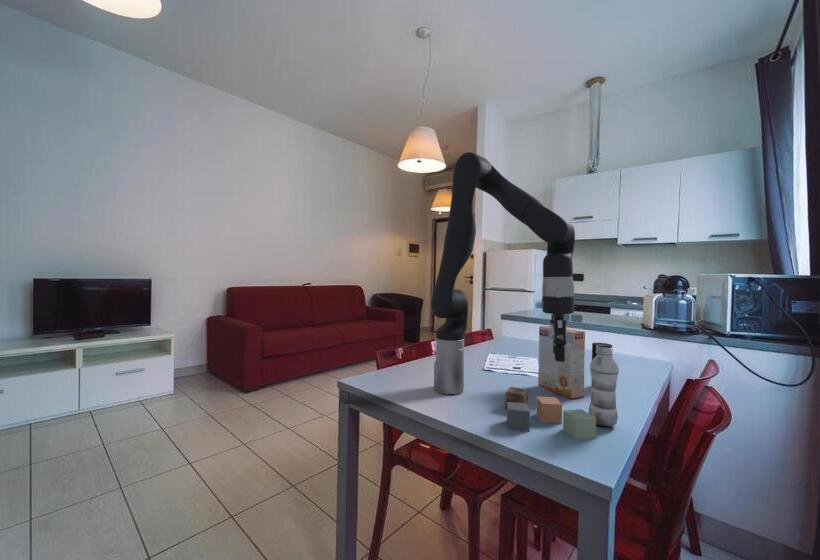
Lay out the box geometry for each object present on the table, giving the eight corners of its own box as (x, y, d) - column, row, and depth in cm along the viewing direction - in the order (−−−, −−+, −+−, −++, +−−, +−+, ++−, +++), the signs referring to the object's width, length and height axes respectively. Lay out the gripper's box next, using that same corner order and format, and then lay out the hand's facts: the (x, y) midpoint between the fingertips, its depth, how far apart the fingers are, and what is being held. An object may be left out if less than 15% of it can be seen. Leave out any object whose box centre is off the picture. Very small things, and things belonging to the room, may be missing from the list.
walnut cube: (505, 409, 93) (505, 391, 93) (510, 403, 98) (510, 386, 98) (523, 413, 91) (523, 395, 91) (527, 407, 95) (527, 389, 95)
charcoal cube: (508, 429, 81) (508, 409, 81) (506, 420, 86) (506, 401, 86) (529, 431, 80) (529, 411, 80) (526, 422, 85) (527, 403, 85)
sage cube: (576, 440, 76) (576, 418, 76) (563, 430, 81) (563, 410, 81) (595, 439, 76) (596, 417, 76) (581, 429, 81) (581, 409, 81)
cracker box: (585, 397, 103) (586, 331, 103) (570, 400, 101) (571, 332, 100) (550, 383, 116) (551, 324, 116) (537, 385, 114) (538, 325, 113)
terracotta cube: (541, 422, 85) (541, 403, 85) (536, 414, 90) (536, 396, 90) (561, 423, 84) (562, 404, 84) (555, 415, 89) (555, 397, 89)
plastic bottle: (606, 418, 88) (608, 343, 87) (624, 430, 81) (625, 349, 81) (583, 418, 87) (584, 343, 87) (598, 430, 81) (599, 349, 80)
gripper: (541, 293, 92) (542, 350, 92) (542, 295, 79) (543, 362, 79) (571, 293, 90) (572, 352, 90) (577, 296, 76) (578, 365, 76)
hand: (558, 357), depth 84 cm, fingers open, 8 cm apart
